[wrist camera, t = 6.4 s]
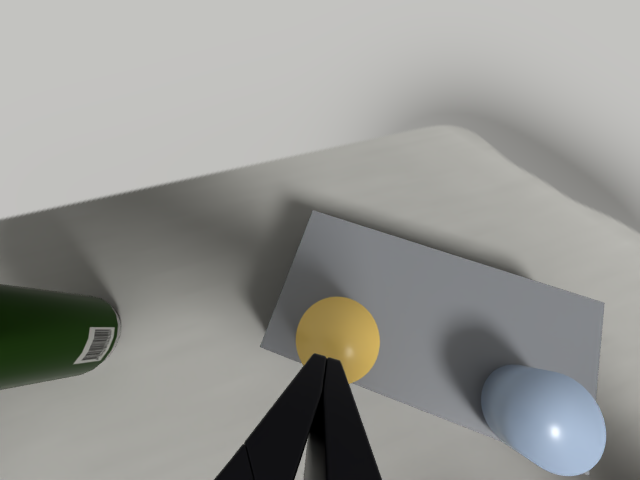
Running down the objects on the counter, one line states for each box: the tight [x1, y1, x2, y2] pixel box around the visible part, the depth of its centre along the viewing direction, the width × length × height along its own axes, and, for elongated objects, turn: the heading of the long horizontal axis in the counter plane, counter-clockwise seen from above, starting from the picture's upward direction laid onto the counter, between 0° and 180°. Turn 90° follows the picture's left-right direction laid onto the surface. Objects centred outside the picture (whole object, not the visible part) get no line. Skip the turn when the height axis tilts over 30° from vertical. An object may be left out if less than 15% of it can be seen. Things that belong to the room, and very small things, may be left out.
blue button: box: [481, 364, 606, 476], centre depth 16 cm, size 4×4×6 cm
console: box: [260, 210, 604, 476], centre depth 19 cm, size 18×9×4 cm, turn 70°
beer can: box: [0, 284, 121, 390], centre depth 16 cm, size 5×5×12 cm
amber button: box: [296, 297, 380, 384], centre depth 17 cm, size 4×4×6 cm
